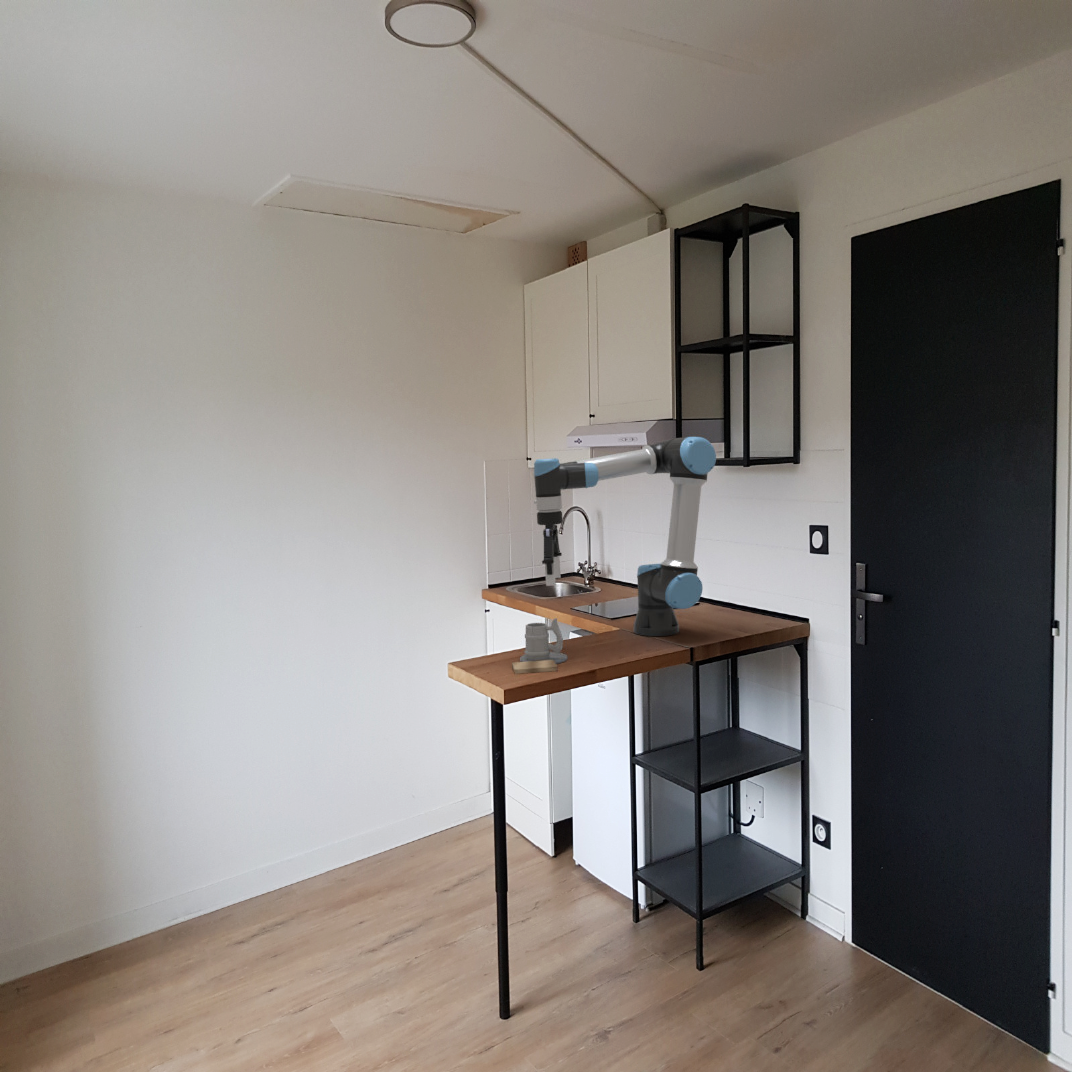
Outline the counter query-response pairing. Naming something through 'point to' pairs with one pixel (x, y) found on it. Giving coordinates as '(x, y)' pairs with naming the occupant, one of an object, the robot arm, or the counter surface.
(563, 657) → the coaster
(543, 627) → the mug
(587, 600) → the counter surface
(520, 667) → the small board
